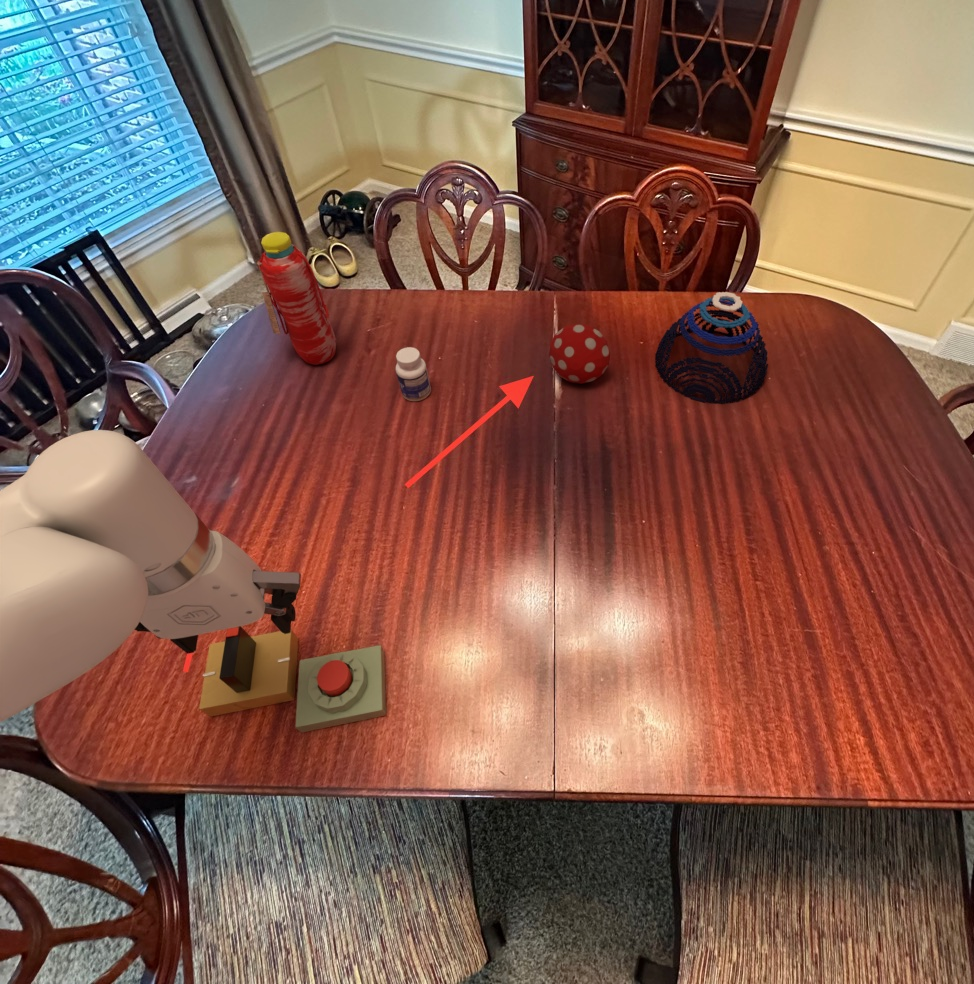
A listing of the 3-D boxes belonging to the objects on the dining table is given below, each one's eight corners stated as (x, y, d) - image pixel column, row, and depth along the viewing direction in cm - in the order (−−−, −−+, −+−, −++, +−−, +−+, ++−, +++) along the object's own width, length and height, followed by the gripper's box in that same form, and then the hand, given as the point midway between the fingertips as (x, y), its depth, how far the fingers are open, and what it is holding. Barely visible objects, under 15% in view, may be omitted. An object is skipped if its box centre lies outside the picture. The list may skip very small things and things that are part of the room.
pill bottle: (400, 384, 110) (390, 347, 103) (429, 379, 110) (421, 341, 104) (403, 404, 106) (393, 367, 99) (432, 399, 107) (425, 362, 100)
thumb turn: (250, 690, 72) (232, 675, 68) (236, 693, 71) (218, 677, 67) (256, 642, 75) (240, 625, 71) (243, 644, 75) (226, 627, 71)
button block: (301, 732, 71) (289, 722, 68) (304, 666, 76) (294, 654, 73) (386, 715, 72) (379, 705, 69) (384, 651, 78) (377, 638, 74)
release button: (320, 698, 70) (316, 693, 69) (321, 668, 73) (317, 663, 71) (351, 692, 71) (348, 687, 69) (352, 662, 73) (348, 657, 72)
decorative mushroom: (549, 322, 116) (531, 348, 103) (600, 296, 112) (588, 320, 99) (576, 371, 120) (562, 402, 107) (626, 348, 115) (618, 377, 102)
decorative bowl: (641, 385, 109) (652, 321, 98) (670, 320, 120) (682, 257, 109) (754, 416, 103) (778, 352, 92) (772, 345, 115) (795, 281, 104)
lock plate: (208, 717, 73) (197, 709, 70) (218, 653, 78) (208, 643, 75) (295, 700, 74) (286, 691, 71) (299, 637, 79) (291, 628, 76)
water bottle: (274, 368, 113) (218, 249, 94) (288, 340, 118) (238, 222, 99) (337, 371, 112) (293, 251, 93) (349, 343, 117) (309, 224, 98)
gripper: (37, 611, 48) (149, 682, 61) (263, 569, 50) (323, 646, 63) (64, 531, 52) (163, 614, 66) (269, 496, 54) (324, 582, 68)
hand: (241, 630), depth 64 cm, fingers open, 9 cm apart
